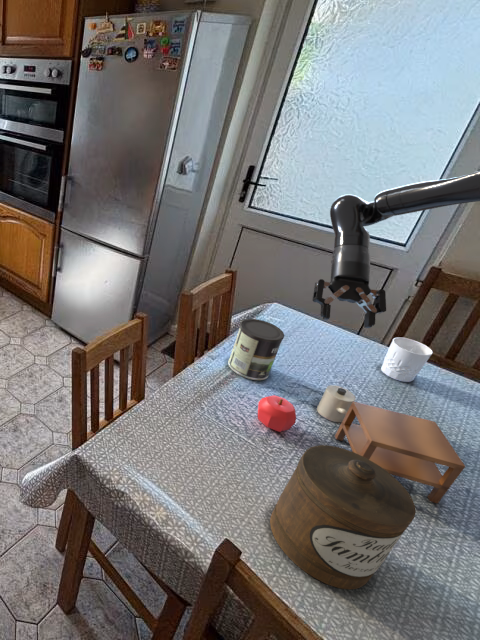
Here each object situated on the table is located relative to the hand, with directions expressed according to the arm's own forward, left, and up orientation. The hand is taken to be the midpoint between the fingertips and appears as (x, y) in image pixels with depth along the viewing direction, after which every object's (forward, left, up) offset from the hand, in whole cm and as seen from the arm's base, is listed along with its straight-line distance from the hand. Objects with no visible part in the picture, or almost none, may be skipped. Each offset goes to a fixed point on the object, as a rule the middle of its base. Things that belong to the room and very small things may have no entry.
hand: (346, 323), depth 106 cm
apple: (+14, +22, -21) cm, 33 cm away
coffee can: (+17, +1, -21) cm, 27 cm away
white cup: (-21, -14, -21) cm, 33 cm away
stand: (-6, +26, -21) cm, 33 cm away
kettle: (0, +13, -21) cm, 24 cm away
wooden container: (+11, +52, -21) cm, 57 cm away
